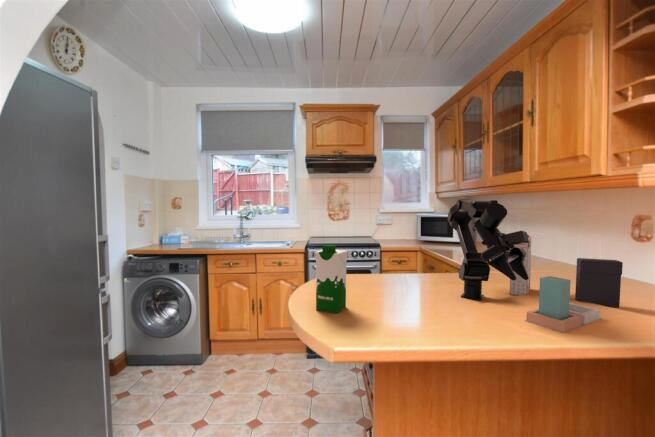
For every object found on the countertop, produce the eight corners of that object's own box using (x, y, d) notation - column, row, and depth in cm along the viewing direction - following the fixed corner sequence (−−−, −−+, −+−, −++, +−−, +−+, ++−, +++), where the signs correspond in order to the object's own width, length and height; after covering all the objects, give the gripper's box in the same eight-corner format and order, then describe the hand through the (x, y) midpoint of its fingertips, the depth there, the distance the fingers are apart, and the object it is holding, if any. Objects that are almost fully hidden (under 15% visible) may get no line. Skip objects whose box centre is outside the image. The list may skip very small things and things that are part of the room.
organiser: (523, 324, 88) (524, 311, 88) (562, 312, 99) (563, 300, 99) (563, 337, 80) (564, 323, 80) (601, 322, 90) (602, 309, 90)
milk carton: (312, 310, 98) (312, 245, 97) (324, 302, 106) (325, 242, 105) (338, 315, 94) (339, 247, 94) (349, 306, 103) (350, 243, 102)
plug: (538, 321, 87) (539, 278, 87) (548, 318, 90) (549, 276, 89) (558, 328, 83) (560, 281, 83) (568, 324, 86) (570, 279, 85)
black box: (613, 304, 107) (615, 259, 106) (620, 308, 103) (623, 261, 102) (573, 301, 110) (575, 257, 109) (579, 304, 106) (581, 259, 105)
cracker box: (512, 286, 129) (514, 234, 128) (530, 289, 125) (532, 235, 124) (508, 294, 118) (510, 237, 117) (527, 297, 114) (529, 238, 113)
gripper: (500, 216, 91) (535, 265, 83) (525, 223, 103) (558, 266, 95) (468, 238, 97) (498, 285, 89) (495, 242, 109) (523, 284, 101)
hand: (521, 279), depth 93 cm, fingers open, 9 cm apart
